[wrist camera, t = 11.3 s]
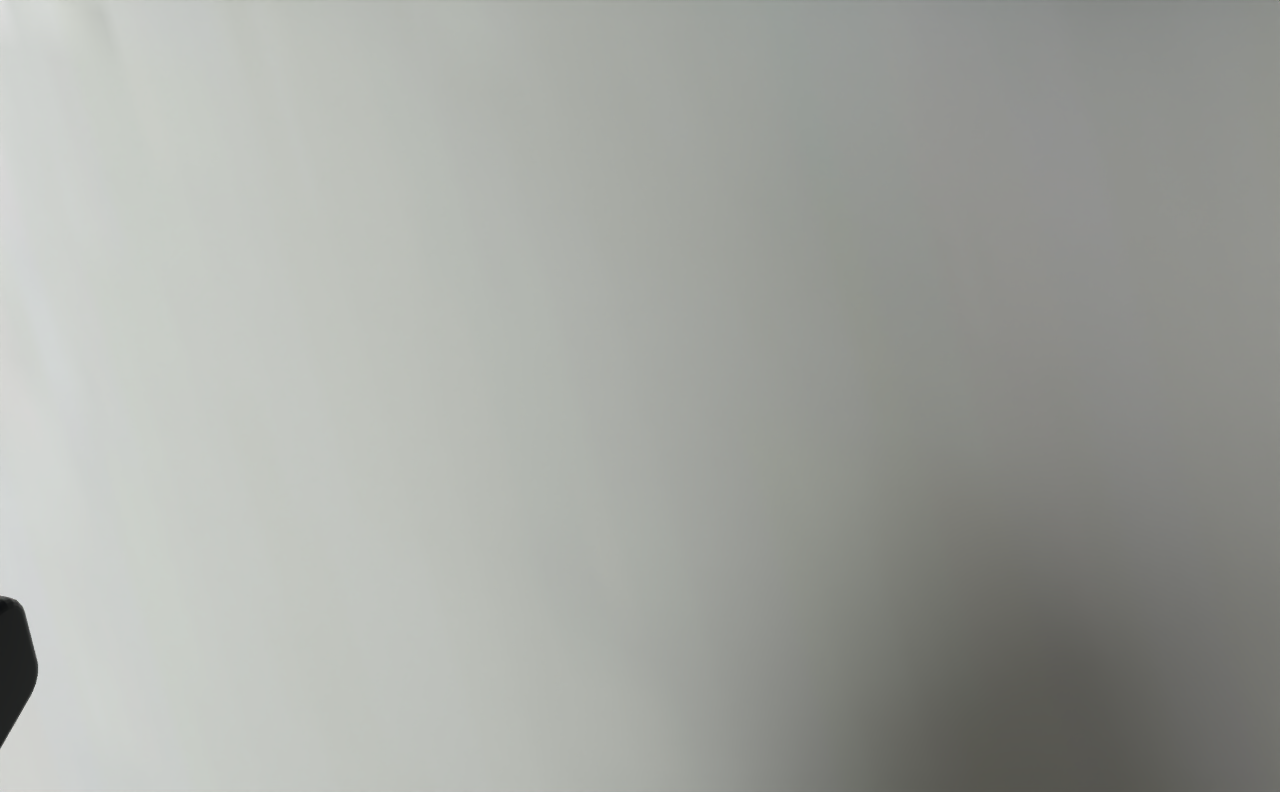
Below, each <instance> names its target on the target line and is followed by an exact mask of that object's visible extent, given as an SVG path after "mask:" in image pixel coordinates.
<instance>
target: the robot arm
mask: <svg viewBox="0 0 1280 792" xmlns="http://www.w3.org/2000/svg"><path fill="white" fill-rule="evenodd" d="M37 676H38V662H37V658H36V654H35V650H34V646H33V642H32V638H31V634H30V630H29V627H28V623H27V619H26V615H25V611H24V609H23V607H22V605H21V604H20V603H19V602H18V601H17V600H15V599H12V598H9V597H4V596H0V748H1V747H2V745H3V743H4V741H5V740H6V738H7V736H8V734H9V733H10V731H11V729H12V727H13V726H14V724H15V722H16V720H17V719H18V717H19V715H20V713H21V712H22V710H23V708H24V706H25V705H26V703H27V701H28V699H29V698H30V696H31V694H32V692H33V689H34V687H35V684H36V680H37Z"/></svg>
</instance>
